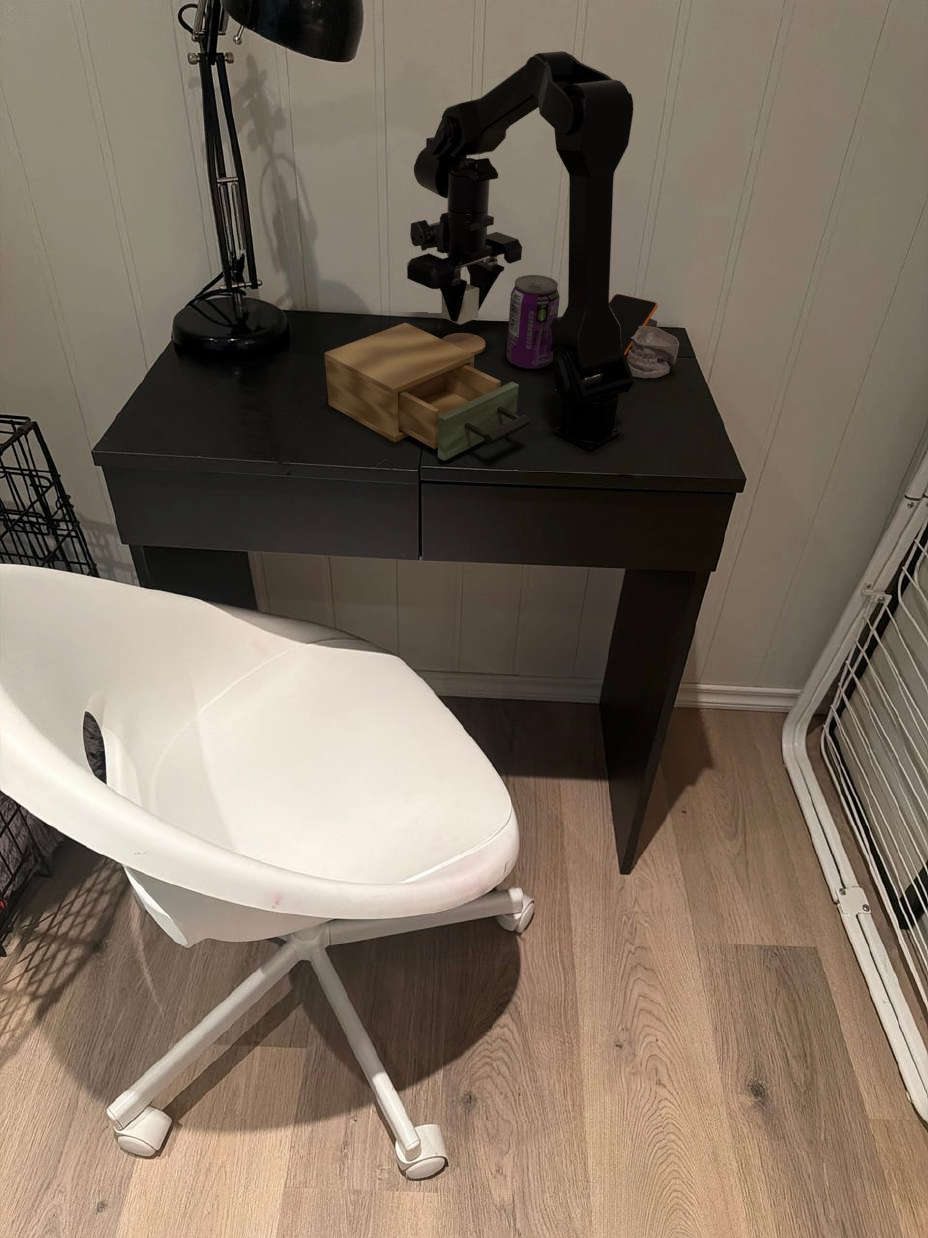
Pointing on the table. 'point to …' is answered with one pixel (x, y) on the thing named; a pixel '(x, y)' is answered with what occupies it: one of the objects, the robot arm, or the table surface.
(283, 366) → the table surface
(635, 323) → the smartphone
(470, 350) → the coaster
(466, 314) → the block
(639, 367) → the dental mold
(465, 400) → the drawer
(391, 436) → the cabinet
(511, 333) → the beverage can
